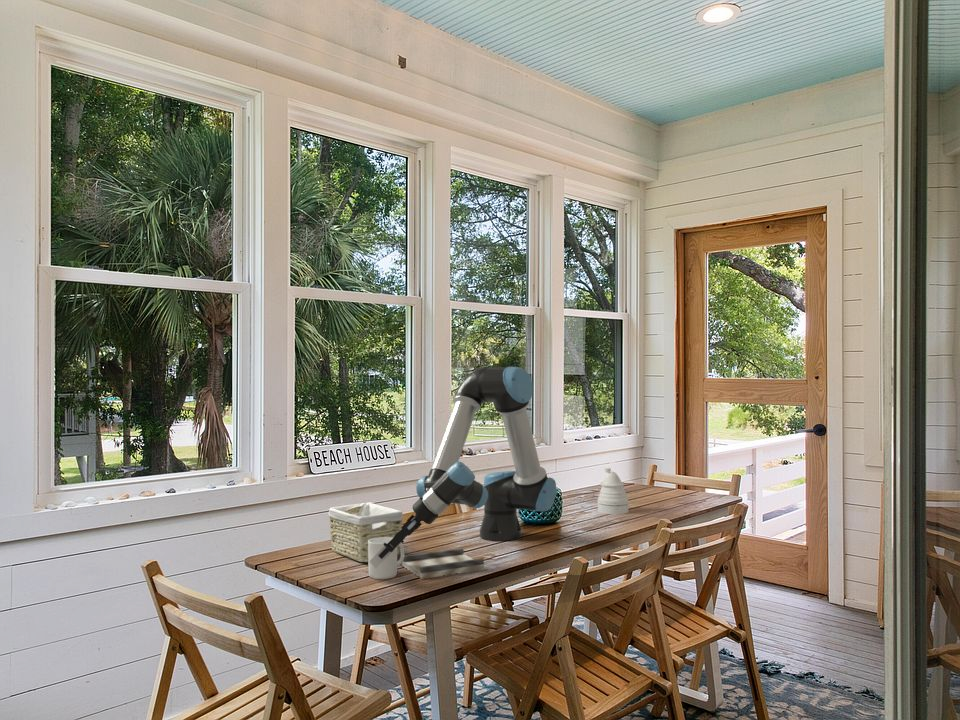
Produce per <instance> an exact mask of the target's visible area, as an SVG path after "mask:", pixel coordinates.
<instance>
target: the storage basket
mask: <svg viewBox="0 0 960 720" xmlns="http://www.w3.org/2000/svg"><path fill="white" fill-rule="evenodd" d="M328 510H329V511H328V517H329V523H330V524H329V526H330V528H329V531H330V539H331V540H330V541H331V542H330V543H331V551H332V552H334V553H337V554H340V555H342V556H344V557H347V558H349V559H352V560H355V561H356V562H359V563H366V562H367V563H368V541H369V540H370V539H373V538H379V537H391V538H393V537H394V536H395V535H396V534H397V533H398V532H399V531H400V530H401V527H402V526H403V525H402V523H403V520H404V516H403V511H402V510H397V509H395V508H392V507H386V506H383V505H379V504H376V503H373V502H369V501H368V502H363V503H361V502H360V503H354V504H347V505H340V506H333V507H330V508H329V509H328ZM355 514H356V515H355ZM400 550H401V549H400V546H399V545H398V546H397V557H398V556H400Z"/></svg>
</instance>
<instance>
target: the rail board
mask: <svg viewBox="0 0 960 720" xmlns="http://www.w3.org/2000/svg"><path fill="white" fill-rule="evenodd" d="M484 560H485V559H484V558H482V557H481V558H475V559H474V558H472V557H470V556H468V555H467V554H465V553H464V548H454V549H445V550H439V551H431V552H422V553H415V554H408V555H404V559H403V562H402V563H401V564H402V565H401V566H402V567H403V566H404V567H403V568H405V569H406V568H407V569H406V570H408V571H409V570H410V571H409V572H410V573H412V572H413V573H412V574H414V575H415V574H416V575H415V576H417V577H418V576H419V577H418V578H419V579H421V580H422V579H423V580H424V578H425V579H429V578H439V577H444V576H443V575H445V576H450V575H449V574H451V575H456V574H455V573H458V574H463V573H462V572H465V573H470V571H471V572H476V571H484V570H485V561H484ZM468 571H469V572H468Z"/></svg>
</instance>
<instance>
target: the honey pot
mask: <svg viewBox="0 0 960 720" xmlns="http://www.w3.org/2000/svg"><path fill="white" fill-rule="evenodd" d="M611 470H612V469H611V468H609V467H608V468H607V467H605V468H604V471H605V473H606V474H607V475H606V477H605V478H604V481H602V482H600V484H599V485H600V486H601V489H600V490H599V494H598V497H597V512H598V513H600V512H601V513H600V514H605V513H607V514H606V515H624V514H628V513H629V498H628V495H627V493H626V489H625V488H624V486H625V484H624V482H622V480H621V479H620V477H619V475H618V474H617V473H616V472H614V471H611Z"/></svg>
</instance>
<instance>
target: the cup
mask: <svg viewBox="0 0 960 720" xmlns="http://www.w3.org/2000/svg"><path fill="white" fill-rule="evenodd" d="M392 539H393V538H391V537H379V538H373V539H370V540H369V541H368V561H367V563H368V566H367V567H368V576H369V577H370V578H371V579H374V580H387V579H391V578H395V577H396V576H397V574H398V566H400V565H401V564H402V562H403V559H404V556H405V546H404V543H402V542H401V543H400V544H399V546H400V549H399V550H400V555H399V556H400V557H399V559H398V556H397V547H396V548H395V549H394V551H393V552H391V553H390V554H389V555H388V556H387V557H386V558H385V559H384V560H383V561H382V562H381V563H380V564H379V566H378V567H377V568H375V567H374V566H373V565H372V564H371V563H370V562H369V561H370V560H371V559H372V558H373V557H374V556H375V555H376V554H377V553H378V552H379V551H380V550H381V549H382V548H383V547H384V545H383V544H384V543H386V544H387V543H389V542H390V541H391V540H392Z"/></svg>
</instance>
